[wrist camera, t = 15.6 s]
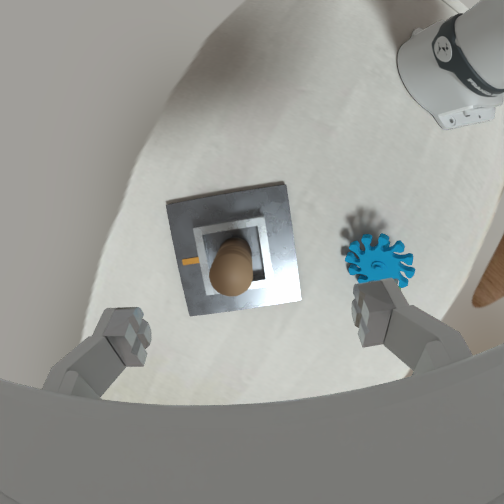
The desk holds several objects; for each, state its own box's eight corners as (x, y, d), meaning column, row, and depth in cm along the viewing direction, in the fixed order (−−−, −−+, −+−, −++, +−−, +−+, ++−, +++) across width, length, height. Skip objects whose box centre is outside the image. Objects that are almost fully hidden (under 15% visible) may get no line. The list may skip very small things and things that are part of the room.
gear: (331, 247, 39) (398, 232, 31) (344, 223, 42) (404, 206, 35) (363, 303, 42) (424, 296, 35) (373, 276, 46) (428, 267, 38)
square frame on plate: (285, 184, 38) (288, 184, 35) (300, 297, 42) (303, 305, 39) (167, 204, 39) (161, 206, 36) (191, 313, 42) (187, 322, 39)
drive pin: (249, 234, 39) (249, 251, 29) (254, 267, 40) (256, 293, 30) (215, 240, 39) (205, 258, 29) (221, 272, 40) (213, 299, 30)
